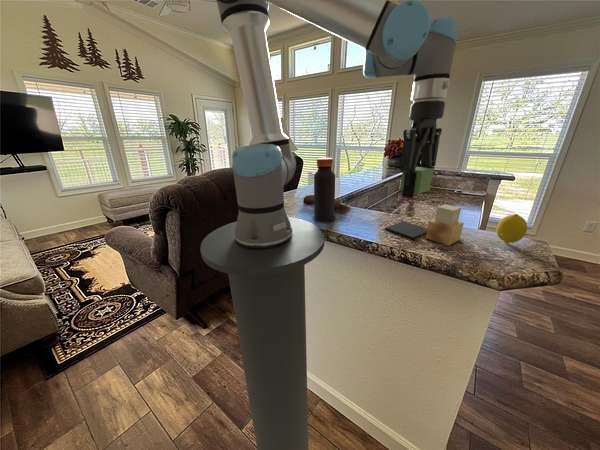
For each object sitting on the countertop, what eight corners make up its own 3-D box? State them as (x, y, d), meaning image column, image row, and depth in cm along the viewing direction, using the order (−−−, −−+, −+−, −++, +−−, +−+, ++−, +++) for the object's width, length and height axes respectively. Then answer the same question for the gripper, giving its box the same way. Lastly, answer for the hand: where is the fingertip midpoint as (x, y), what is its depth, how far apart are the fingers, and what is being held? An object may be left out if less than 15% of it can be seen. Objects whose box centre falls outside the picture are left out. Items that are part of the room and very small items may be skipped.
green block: (399, 190, 66) (402, 168, 64) (411, 187, 69) (414, 166, 66) (418, 194, 61) (422, 170, 59) (430, 190, 64) (433, 168, 62)
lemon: (493, 237, 64) (502, 209, 61) (520, 242, 60) (531, 213, 57) (492, 244, 60) (501, 214, 57) (521, 250, 57) (532, 219, 54)
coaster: (385, 229, 71) (385, 227, 70) (403, 222, 75) (403, 220, 75) (412, 239, 64) (413, 237, 64) (430, 231, 68) (431, 229, 68)
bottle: (312, 216, 83) (311, 158, 76) (330, 214, 84) (331, 157, 77) (317, 223, 77) (317, 160, 70) (336, 221, 78) (338, 159, 71)
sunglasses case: (352, 206, 90) (348, 194, 86) (343, 219, 88) (338, 207, 83) (315, 199, 102) (310, 187, 97) (306, 210, 99) (301, 199, 94)
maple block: (425, 238, 64) (428, 221, 63) (436, 232, 67) (440, 216, 66) (448, 246, 60) (452, 227, 58) (459, 239, 63) (463, 222, 61)
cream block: (434, 221, 62) (437, 206, 61) (442, 218, 64) (445, 204, 63) (450, 225, 59) (453, 210, 58) (457, 222, 61) (461, 207, 60)
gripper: (421, 98, 49) (406, 204, 58) (462, 101, 59) (445, 191, 67) (390, 102, 55) (381, 198, 64) (432, 104, 65) (420, 187, 73)
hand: (414, 194), depth 65 cm, fingers closed on green block, 5 cm apart
